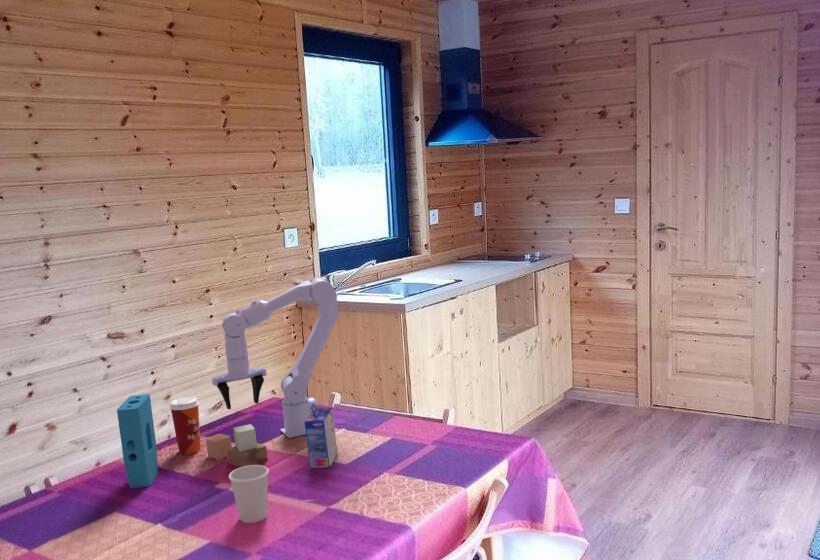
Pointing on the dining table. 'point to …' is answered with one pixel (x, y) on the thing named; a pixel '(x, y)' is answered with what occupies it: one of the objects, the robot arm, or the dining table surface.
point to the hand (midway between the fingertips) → (242, 405)
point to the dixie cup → (250, 492)
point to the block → (138, 440)
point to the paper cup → (186, 424)
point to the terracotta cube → (218, 446)
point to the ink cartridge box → (321, 437)
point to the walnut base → (247, 456)
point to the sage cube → (245, 437)
